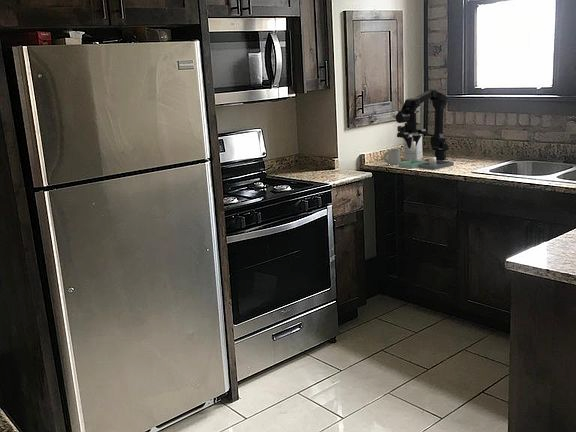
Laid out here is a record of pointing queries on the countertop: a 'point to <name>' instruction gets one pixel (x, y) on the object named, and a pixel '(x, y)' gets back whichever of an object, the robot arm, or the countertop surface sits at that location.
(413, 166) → the green bin
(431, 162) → the far stone
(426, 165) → the grey tray
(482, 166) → the countertop surface
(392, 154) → the cup
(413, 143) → the near stone
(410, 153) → the supplement box
